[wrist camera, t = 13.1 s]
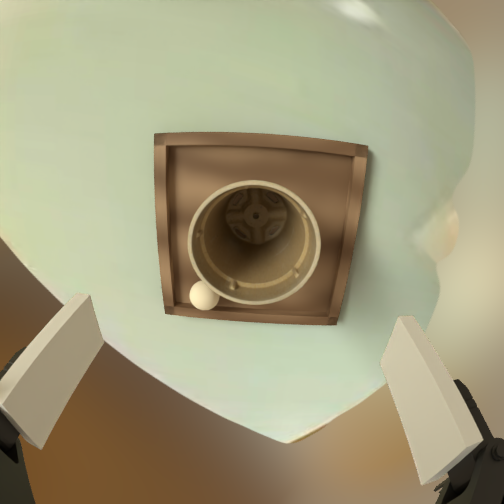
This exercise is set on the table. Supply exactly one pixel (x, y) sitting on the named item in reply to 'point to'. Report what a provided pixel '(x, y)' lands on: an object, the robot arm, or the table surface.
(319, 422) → the table surface
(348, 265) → the tray
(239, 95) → the table surface
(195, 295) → the cream white ball
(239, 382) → the table surface
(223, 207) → the flower pot
